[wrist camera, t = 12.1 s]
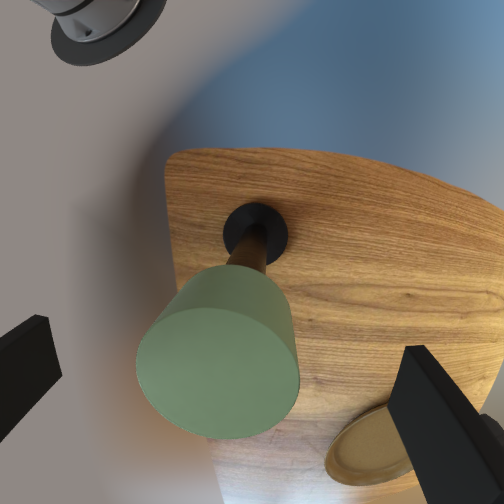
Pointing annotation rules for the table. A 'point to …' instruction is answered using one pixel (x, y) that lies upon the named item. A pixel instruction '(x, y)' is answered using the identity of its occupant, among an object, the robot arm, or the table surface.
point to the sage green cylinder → (222, 355)
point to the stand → (255, 236)
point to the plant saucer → (368, 451)
